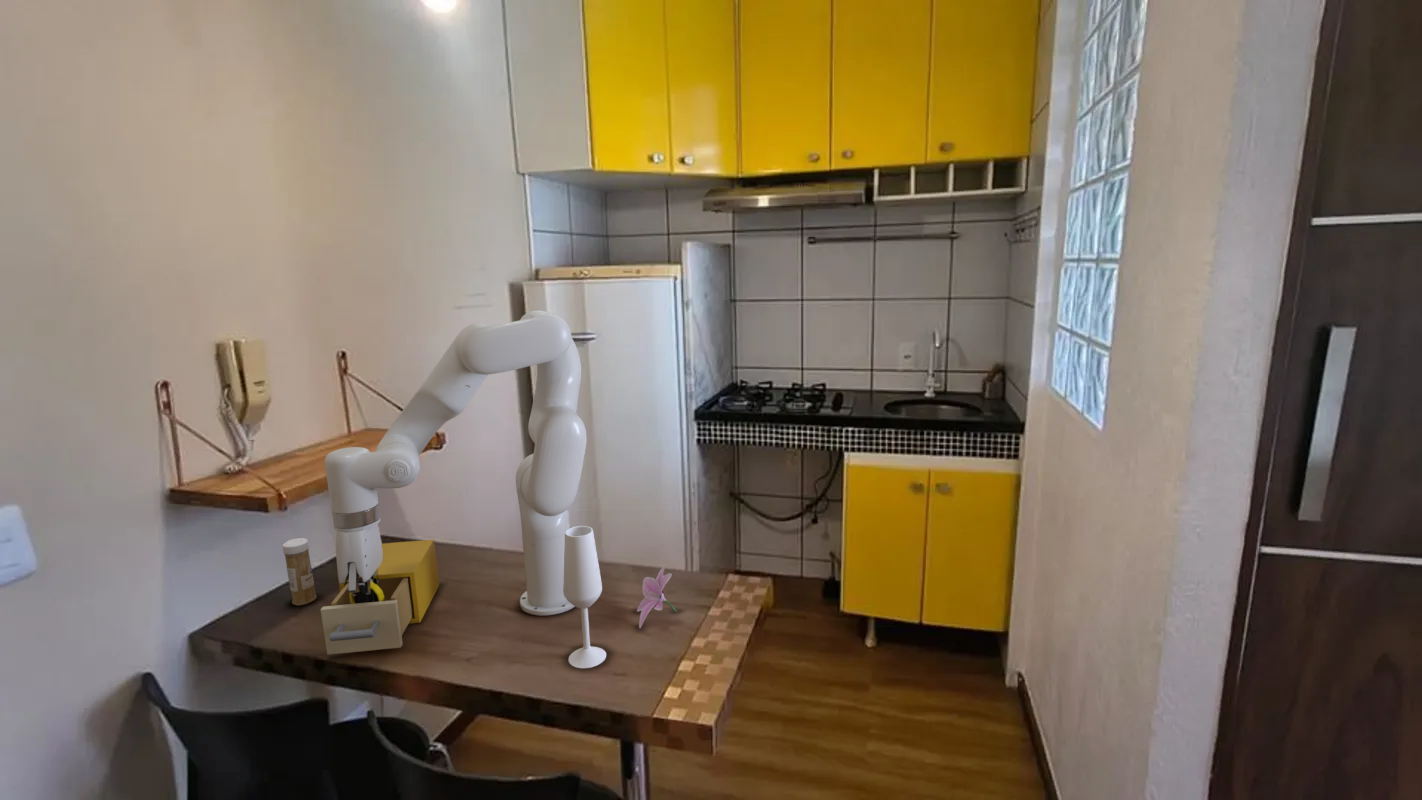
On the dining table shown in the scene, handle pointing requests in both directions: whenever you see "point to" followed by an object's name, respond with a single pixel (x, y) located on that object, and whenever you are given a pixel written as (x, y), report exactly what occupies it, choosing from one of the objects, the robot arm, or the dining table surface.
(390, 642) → the drawer
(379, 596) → the watch
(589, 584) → the champagne flute
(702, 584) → the dining table surface
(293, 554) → the sprinkles bottle
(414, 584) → the cabinet
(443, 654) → the dining table surface
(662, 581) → the lily
